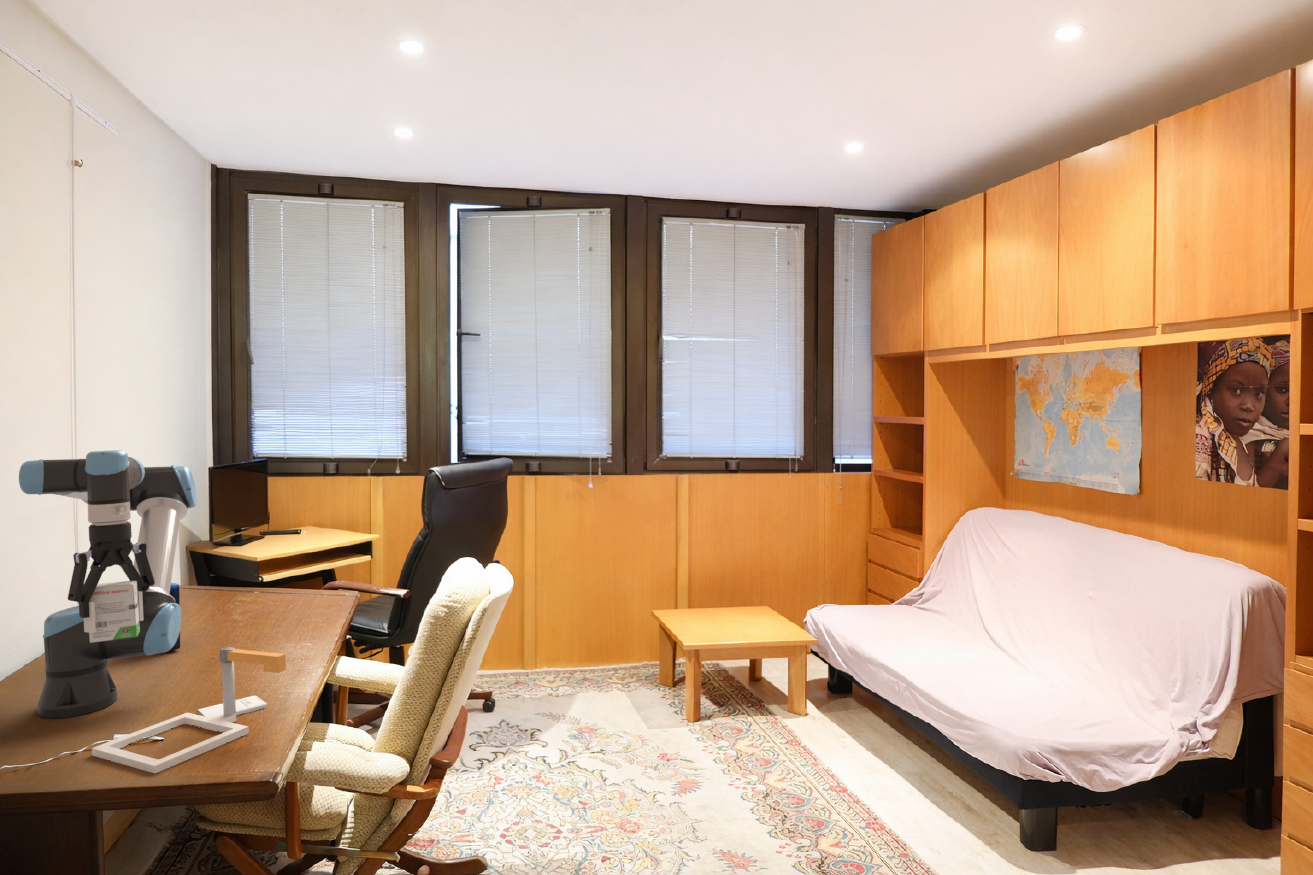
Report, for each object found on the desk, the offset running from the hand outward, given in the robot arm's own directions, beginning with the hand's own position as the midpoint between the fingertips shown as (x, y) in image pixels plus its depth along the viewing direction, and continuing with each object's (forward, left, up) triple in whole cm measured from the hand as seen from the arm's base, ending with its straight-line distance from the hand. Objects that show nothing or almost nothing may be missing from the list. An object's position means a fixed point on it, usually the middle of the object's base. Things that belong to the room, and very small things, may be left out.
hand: (114, 625), depth 170 cm
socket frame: (+18, +2, -23) cm, 29 cm away
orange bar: (+25, +14, -10) cm, 30 cm away
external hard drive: (+13, +17, -24) cm, 32 cm away
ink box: (0, 0, -3) cm, 3 cm away
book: (-50, +41, -23) cm, 69 cm away
